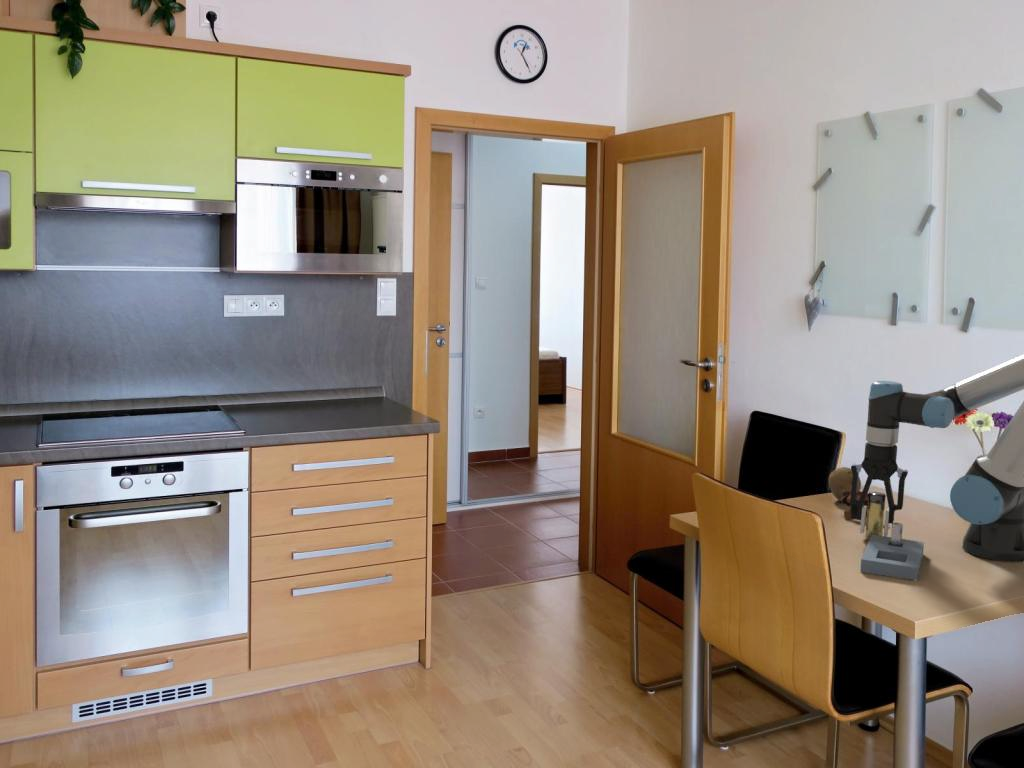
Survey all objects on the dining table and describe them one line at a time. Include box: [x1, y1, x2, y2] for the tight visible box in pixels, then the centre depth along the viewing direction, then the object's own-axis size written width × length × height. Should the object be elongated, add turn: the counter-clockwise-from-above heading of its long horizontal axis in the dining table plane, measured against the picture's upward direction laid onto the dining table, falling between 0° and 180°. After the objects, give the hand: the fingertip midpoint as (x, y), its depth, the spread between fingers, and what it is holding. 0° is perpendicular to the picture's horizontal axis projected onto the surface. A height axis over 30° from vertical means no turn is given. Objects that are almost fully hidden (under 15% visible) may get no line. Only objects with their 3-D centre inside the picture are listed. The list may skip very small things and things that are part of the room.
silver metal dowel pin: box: [890, 522, 904, 547], centre depth 238 cm, size 2×2×8 cm
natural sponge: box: [828, 466, 862, 501], centre depth 289 cm, size 9×9×10 cm
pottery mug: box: [838, 490, 869, 522], centre depth 272 cm, size 12×10×8 cm
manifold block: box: [859, 535, 925, 581], centre depth 233 cm, size 12×22×3 cm, turn 155°
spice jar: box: [864, 491, 887, 542], centre depth 250 cm, size 4×4×12 cm
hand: (873, 533), depth 251 cm, fingers open, 5 cm apart
